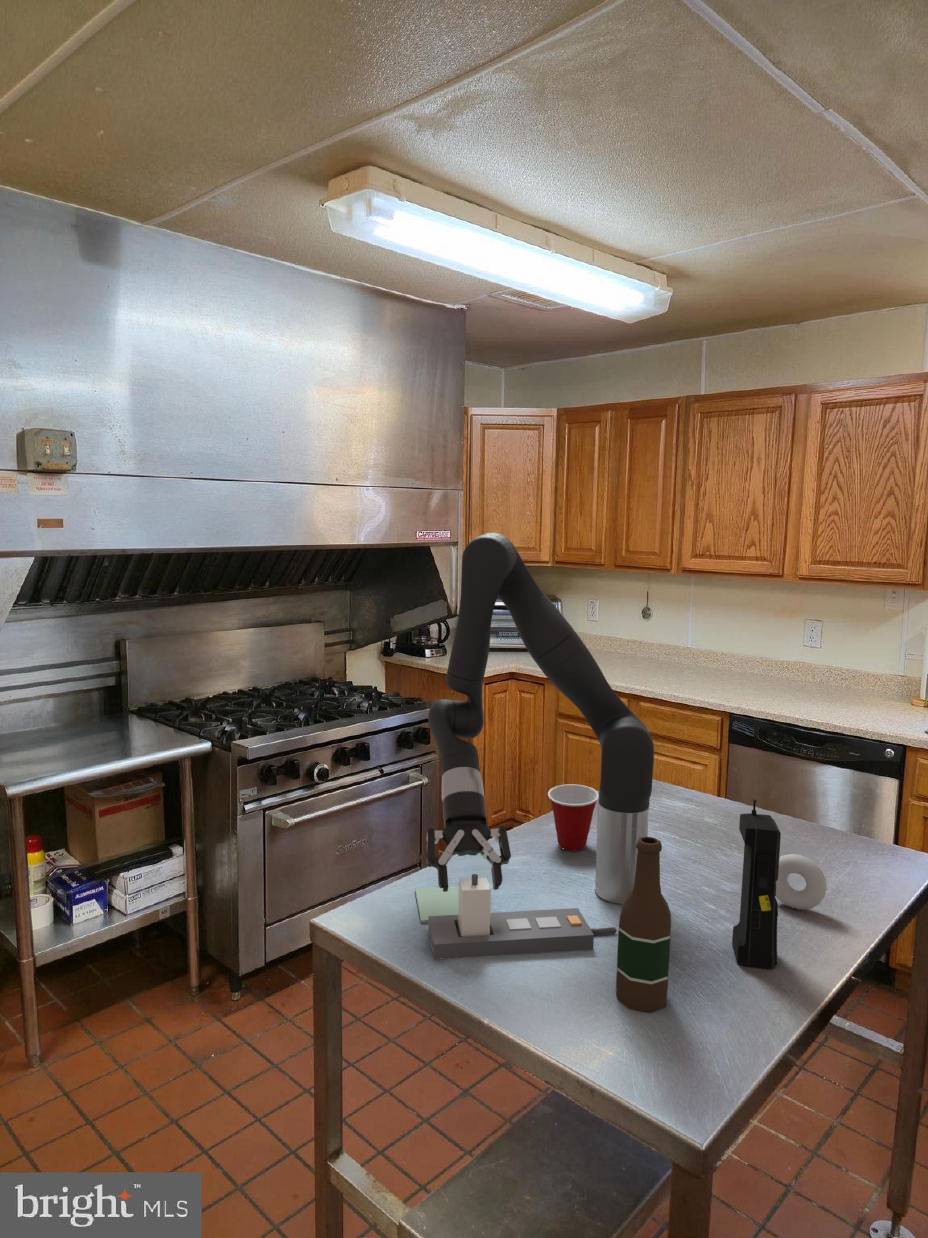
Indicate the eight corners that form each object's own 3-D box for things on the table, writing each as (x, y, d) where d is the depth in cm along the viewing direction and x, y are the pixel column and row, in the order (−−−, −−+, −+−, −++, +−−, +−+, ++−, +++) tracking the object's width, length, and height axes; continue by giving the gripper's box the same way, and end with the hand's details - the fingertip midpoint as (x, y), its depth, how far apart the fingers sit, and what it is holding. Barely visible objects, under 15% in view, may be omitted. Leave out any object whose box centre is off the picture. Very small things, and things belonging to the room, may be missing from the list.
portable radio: (779, 974, 122) (790, 818, 119) (738, 969, 123) (748, 815, 120) (770, 948, 129) (780, 801, 126) (731, 943, 130) (740, 797, 127)
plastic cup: (537, 849, 167) (539, 794, 166) (558, 832, 176) (560, 780, 175) (584, 861, 161) (587, 804, 160) (604, 843, 170) (607, 790, 169)
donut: (826, 912, 142) (830, 859, 140) (822, 920, 139) (826, 866, 138) (769, 896, 147) (772, 845, 146) (763, 903, 145) (767, 851, 143)
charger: (485, 934, 132) (486, 869, 130) (489, 948, 128) (491, 880, 126) (457, 936, 131) (459, 870, 130) (461, 949, 127) (462, 881, 126)
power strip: (607, 920, 137) (608, 904, 137) (625, 947, 129) (626, 930, 128) (428, 930, 133) (428, 914, 132) (434, 959, 124) (434, 942, 124)
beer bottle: (608, 983, 118) (614, 830, 116) (658, 981, 119) (666, 829, 116) (622, 1015, 111) (630, 851, 108) (676, 1013, 111) (685, 851, 109)
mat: (478, 887, 149) (478, 885, 149) (489, 919, 137) (489, 916, 137) (415, 891, 147) (415, 888, 147) (421, 923, 135) (421, 920, 135)
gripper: (425, 790, 137) (430, 883, 127) (505, 788, 139) (517, 879, 129) (421, 808, 142) (426, 898, 133) (499, 806, 144) (509, 895, 135)
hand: (471, 889), depth 131 cm, fingers open, 8 cm apart
